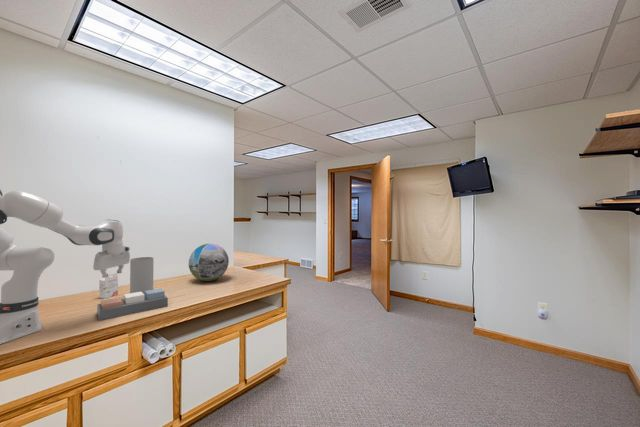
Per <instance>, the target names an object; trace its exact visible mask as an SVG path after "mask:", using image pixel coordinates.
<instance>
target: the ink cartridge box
mask: <svg viewBox="0 0 640 427" xmlns="http://www.w3.org/2000/svg"><path fill="white" fill-rule="evenodd" d="M118 280H119V279H118V273H117V272H115V273H111V274H108V277H106V278H102V279H99V287H98V288H99V291H98V292H99V299H105V300H107V299H109V298H112V297H115V296H118V294H119V291H118V289H119V288H118V287H119V285H118V284H119V282H118Z"/></svg>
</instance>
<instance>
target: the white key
mask: <svg viewBox="0 0 640 427" xmlns="http://www.w3.org/2000/svg"><path fill="white" fill-rule="evenodd" d="M123 300H124V303H125V305H127V304H132V303H137V302H142V301H144V294H143V293H142V292H135V293H130V292H129V293H124V294H123Z"/></svg>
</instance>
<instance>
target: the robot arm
mask: <svg viewBox="0 0 640 427" xmlns="http://www.w3.org/2000/svg"><path fill="white" fill-rule="evenodd" d="M63 216H64V212H63V209H62V208H61V207H59V206H58V205H57V204H55V203H53V202H52V201H49V200H47V199H45V198H44V197H40V196H38V195H35V194H32V193H30V192H26V191H23V190H12V191H8V192H7V193H5V194H4V195H3V191H2V190H1V189H0V225H3V224H5V223H6V222H7V221H8V218H15V219H17V220H21V221H23V222H25V223H28V224H31V225H33V226H37V227H40V228H43V229H44V228H46V229H48V230H50V231H52V232H55V233H56V234H57V233H58V234H60V235H62V236H63V237H65V238H66V239H68V241H69V242H71V244H74V245H75V246H101V251H98V252H97V253H96V254H95V255H94V258H93V259H94V260H93V271H99V272H100V273H101V275H102V279H105V278H106V277H108V275H109V273H107V269H111V268H115V267H117V268H118V269H117V270H116V273H117V274H122V273H123V269H124V267H125V266H124V265H127V264H129V263H130V258H131V256H130V250H131V247H130V246H126V245H124V242H123V237H124V228H123V223H122V222H121V221H119V220H115V219H105V220H103V222H101V223H98V224H96V225H94V226H88V225H75V224H73V223H71V222H69V221H67V220H65V219H64V218H63ZM54 261H55V253H54V251H53V250H52V249H50V248H47V247H42V246H37V245H36V246H32V245H31V246H30V245H29V246H24V245H23V246H20V245H16V244H14V235H13V234H11V233H10V232H8V231H7V230H5V229H4V228H2V226H0V271H13V272H12V276H11V277H10V279H9V280H7V281H5V282H4V283H3V284H2V285H1V287H0V345H1V344H5V343H9V342H10V341H14V340H16V339H20V338H22V337H25V336H28V335H30V334H31V335H32V334H33V333H37V332H39V331H41V330H42V327H43V324H42V322H41V320H40V315H39V308H38V306H39V297H38V285H39V280H40V277H41V275H42V273H43V272H44V271H45V270H46V269H47V268H49V267H50V266H51V265H52V264H53V263H54Z"/></svg>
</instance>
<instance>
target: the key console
mask: <svg viewBox="0 0 640 427" xmlns="http://www.w3.org/2000/svg"><path fill="white" fill-rule="evenodd" d="M168 298H169V297H167V295H165V294H164V297H163V298H158V299H153V300H148V301H147V300H146V299H145V296H144V301H142V302H137V303H132V304H127V305H125V303H124V299H121V300H122V305H121V306H116V307H111V308H106V309H101V307H100V305H101V303H97V306H96V307H97V310H96V311H97V312H96V313H97V317H98V320H99V321H103V320H109V319H113V318H117V317H118V318H119V317H123V316H127V315H132V314H136V313H137V314H138V313H141V312H147V311H150V310H155V309H161V308H165V307H168V303H169V302H168V301H169V299H168Z"/></svg>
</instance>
